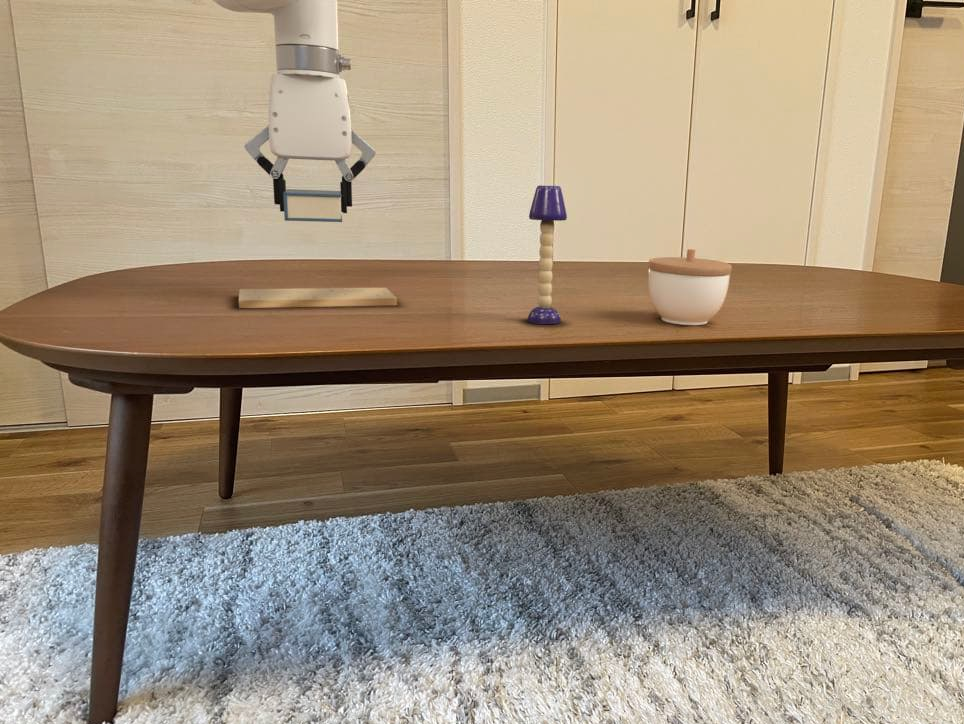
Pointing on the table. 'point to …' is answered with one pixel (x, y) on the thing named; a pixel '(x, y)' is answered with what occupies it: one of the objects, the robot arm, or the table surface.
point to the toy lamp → (546, 248)
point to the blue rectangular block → (312, 205)
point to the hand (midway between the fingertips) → (314, 210)
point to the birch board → (315, 297)
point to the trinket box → (687, 288)
